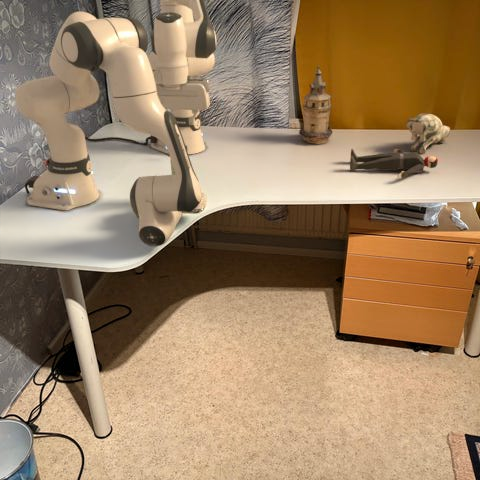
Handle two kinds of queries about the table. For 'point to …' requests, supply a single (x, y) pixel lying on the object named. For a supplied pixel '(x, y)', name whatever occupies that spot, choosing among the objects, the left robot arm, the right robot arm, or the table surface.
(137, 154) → the table surface
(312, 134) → the miniature building
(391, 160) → the toy
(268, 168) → the table surface
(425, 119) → the figurine
